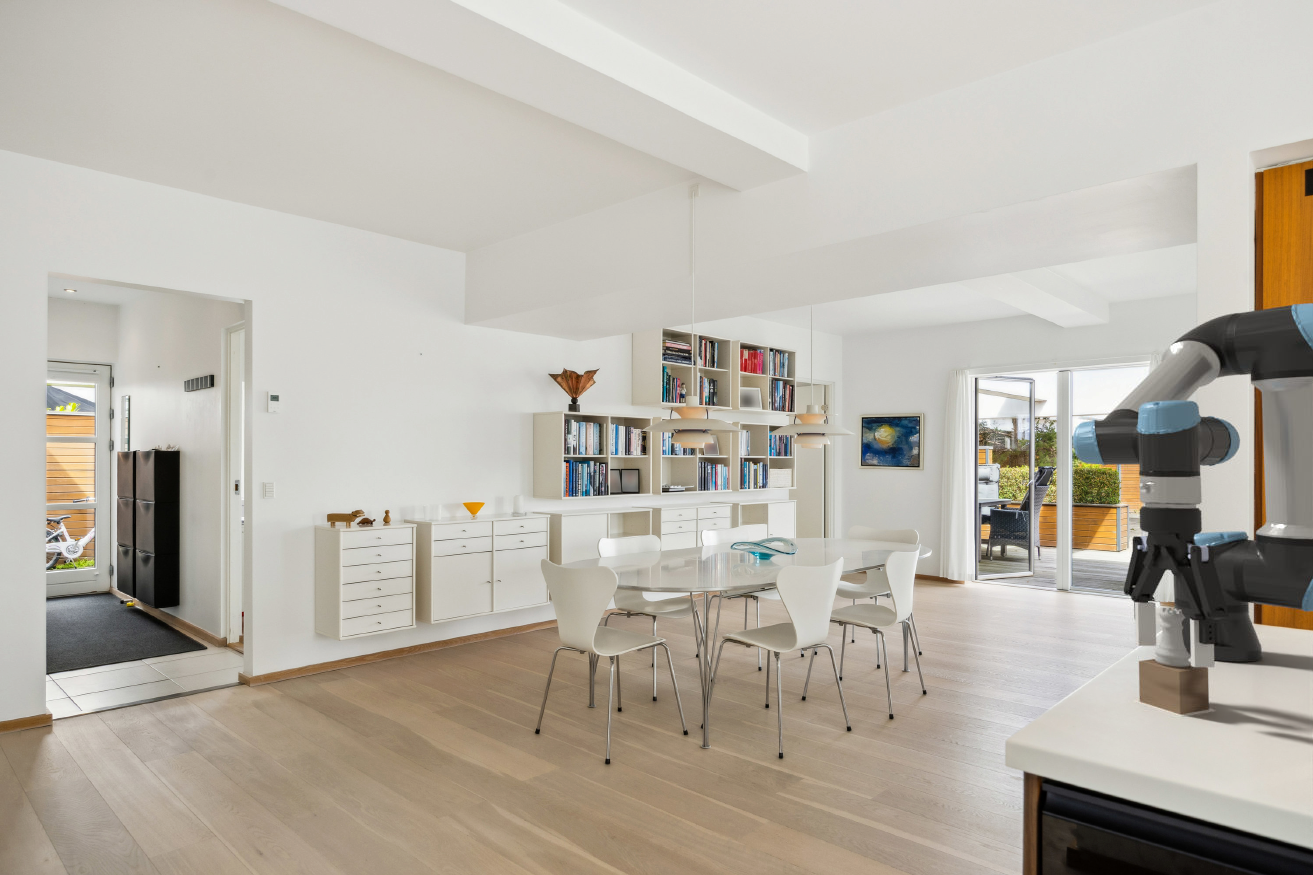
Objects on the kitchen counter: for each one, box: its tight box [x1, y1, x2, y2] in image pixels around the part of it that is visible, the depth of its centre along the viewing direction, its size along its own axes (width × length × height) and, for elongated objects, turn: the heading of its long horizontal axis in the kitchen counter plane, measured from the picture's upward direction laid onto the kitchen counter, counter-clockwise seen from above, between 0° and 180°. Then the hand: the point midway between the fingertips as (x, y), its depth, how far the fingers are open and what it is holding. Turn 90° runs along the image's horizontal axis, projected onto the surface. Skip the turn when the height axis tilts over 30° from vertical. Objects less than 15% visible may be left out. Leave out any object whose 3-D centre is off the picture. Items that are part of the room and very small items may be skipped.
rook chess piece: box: [1154, 607, 1191, 668], centre depth 110 cm, size 4×4×8 cm
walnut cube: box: [1138, 658, 1210, 715], centre depth 110 cm, size 6×6×6 cm
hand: (1172, 655), depth 110 cm, fingers open, 11 cm apart
